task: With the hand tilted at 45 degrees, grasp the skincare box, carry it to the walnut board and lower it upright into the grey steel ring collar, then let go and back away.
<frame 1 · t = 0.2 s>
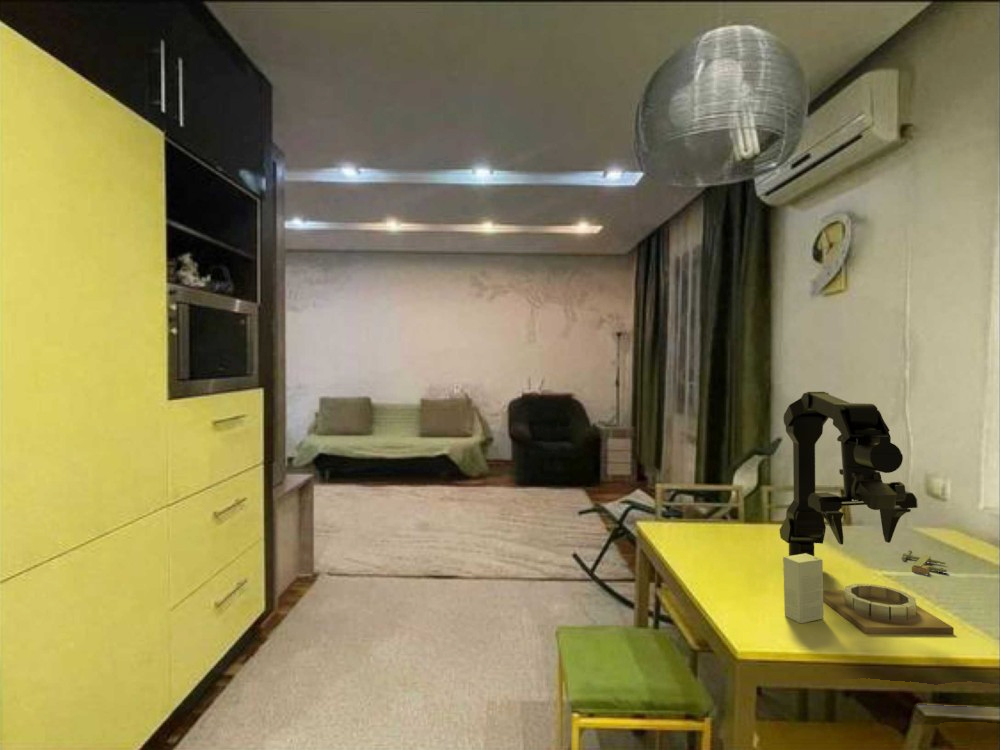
hand: (864, 543, 116), 14 cm above the table, tool pointing down, fingers open, 9 cm apart
skincare box: (803, 618, 114), on the table
clamp: (924, 568, 143), on the table
walnut fitting board: (879, 613, 116), on the table
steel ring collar: (879, 601, 116), on the walnut fitting board, point 2 cm above the table
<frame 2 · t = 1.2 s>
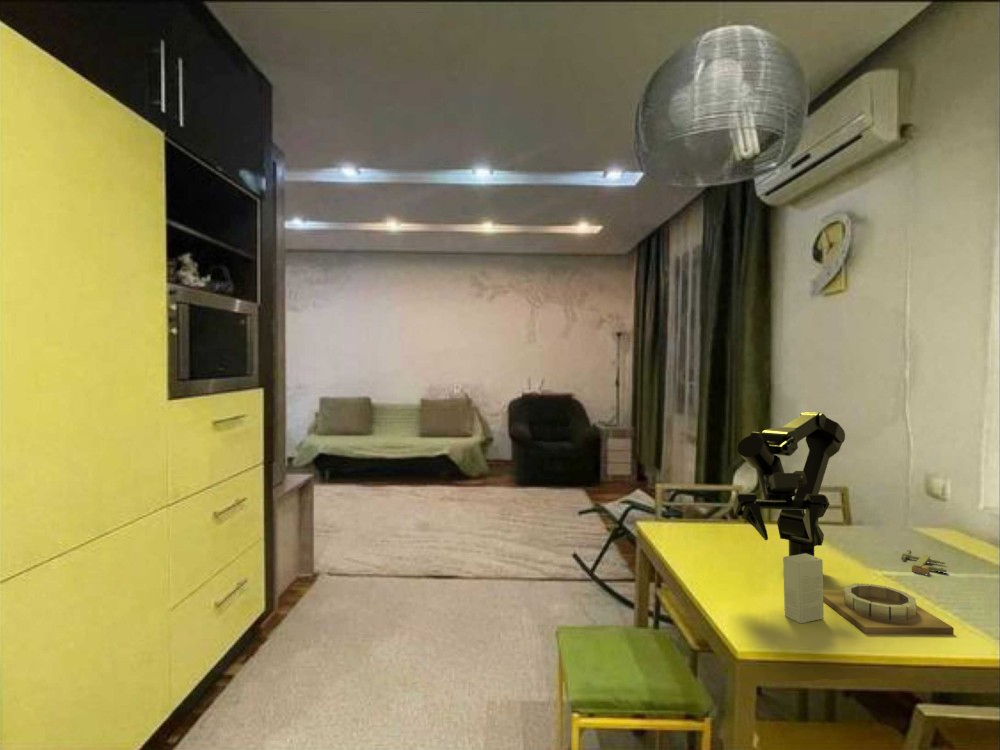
hand: (789, 540, 121), 13 cm above the table, tool tilted 45°, fingers open, 9 cm apart
nothing on the table moved.
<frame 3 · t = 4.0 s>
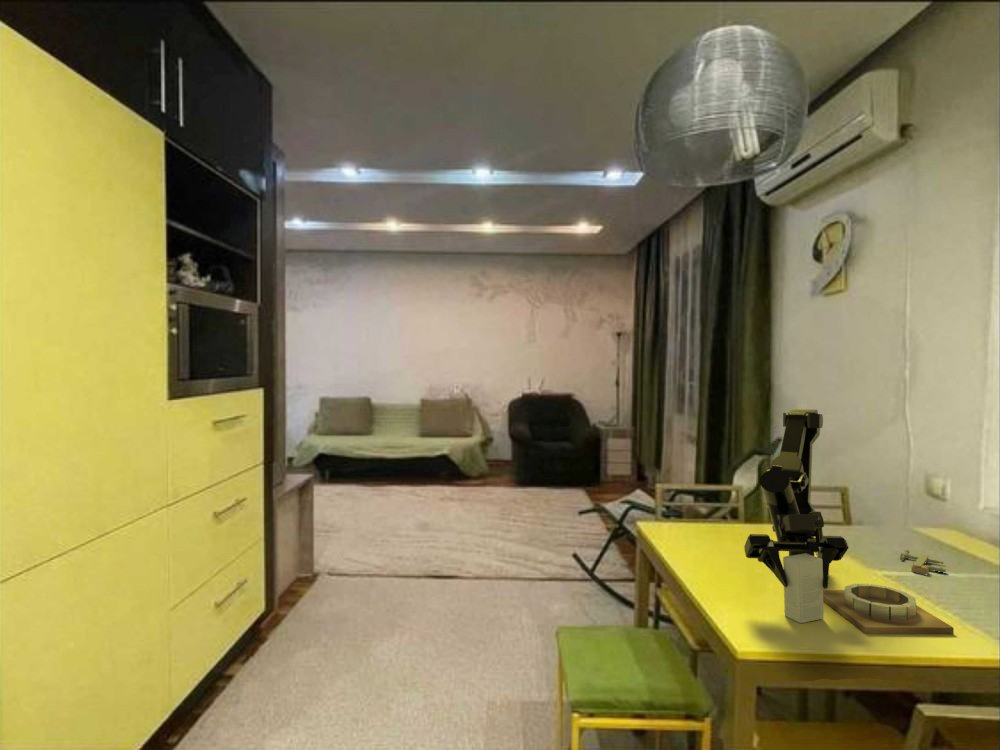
hand: (806, 587, 113), 7 cm above the table, tool tilted 45°, fingers closed on skincare box, 7 cm apart
skincare box: (803, 618, 114), on the table, touching gripper
everything else where it was.
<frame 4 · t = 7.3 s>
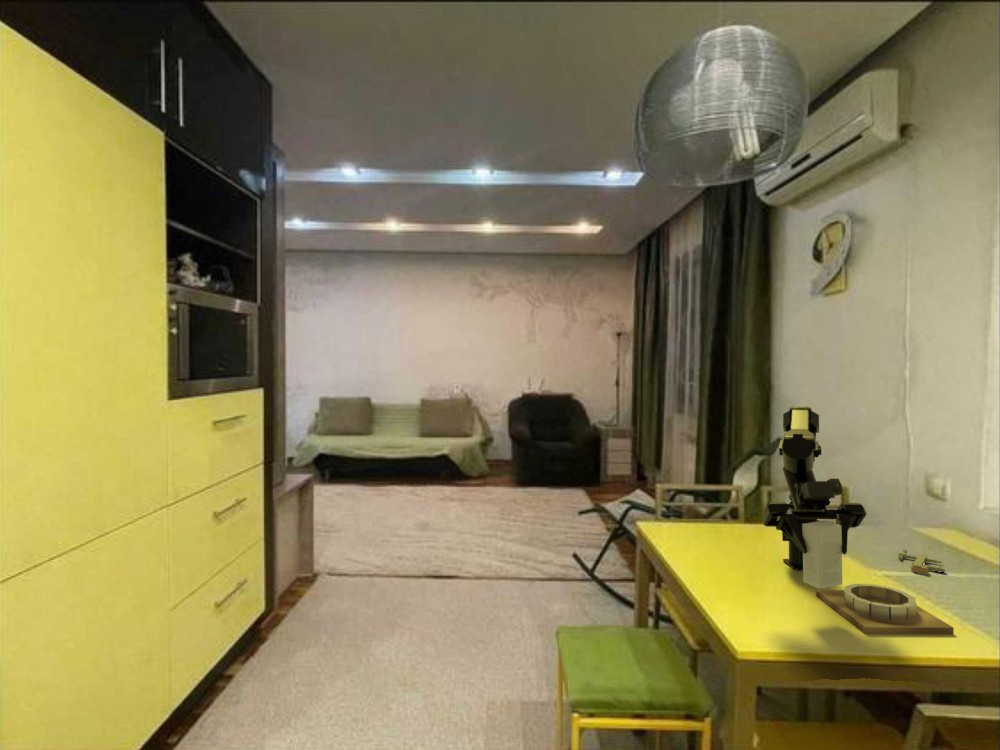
hand: (825, 553, 113), 13 cm above the table, tool tilted 45°, fingers closed on skincare box, 7 cm apart
skincare box: (822, 584, 115), point 6 cm above the table, touching gripper
everything else where it was.
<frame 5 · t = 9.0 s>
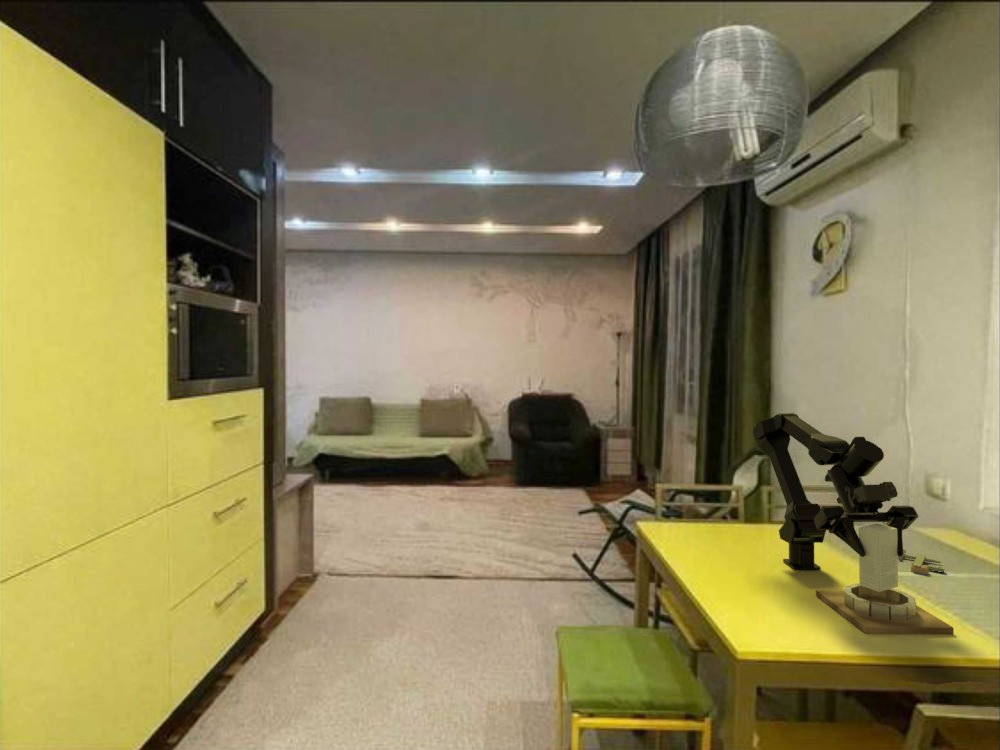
hand: (882, 555, 114), 12 cm above the table, tool tilted 45°, fingers closed on skincare box, 7 cm apart
skincare box: (878, 587, 116), point 5 cm above the table, touching gripper
everything else where it was.
when the fingers open (9 cm above the table, at t = 10.5 s): skincare box drops 1 cm, resting on walnut fitting board.
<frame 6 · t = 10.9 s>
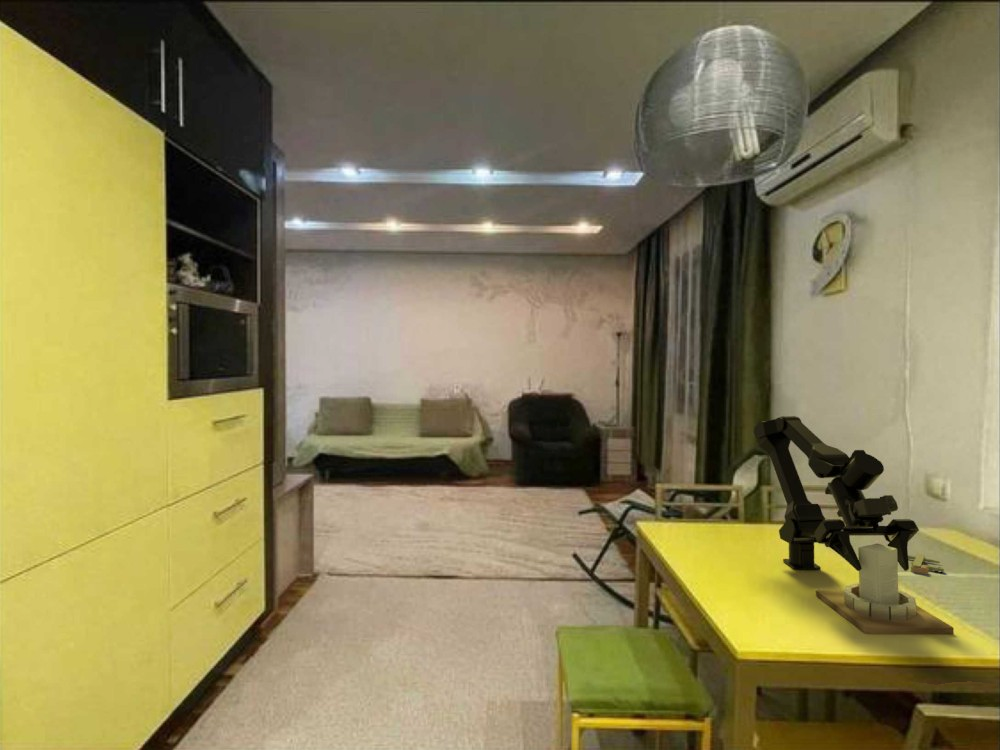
hand: (883, 570, 114), 9 cm above the table, tool tilted 45°, fingers open, 9 cm apart
skincare box: (878, 607, 116), point 1 cm above the table, touching walnut fitting board
everything else where it was.
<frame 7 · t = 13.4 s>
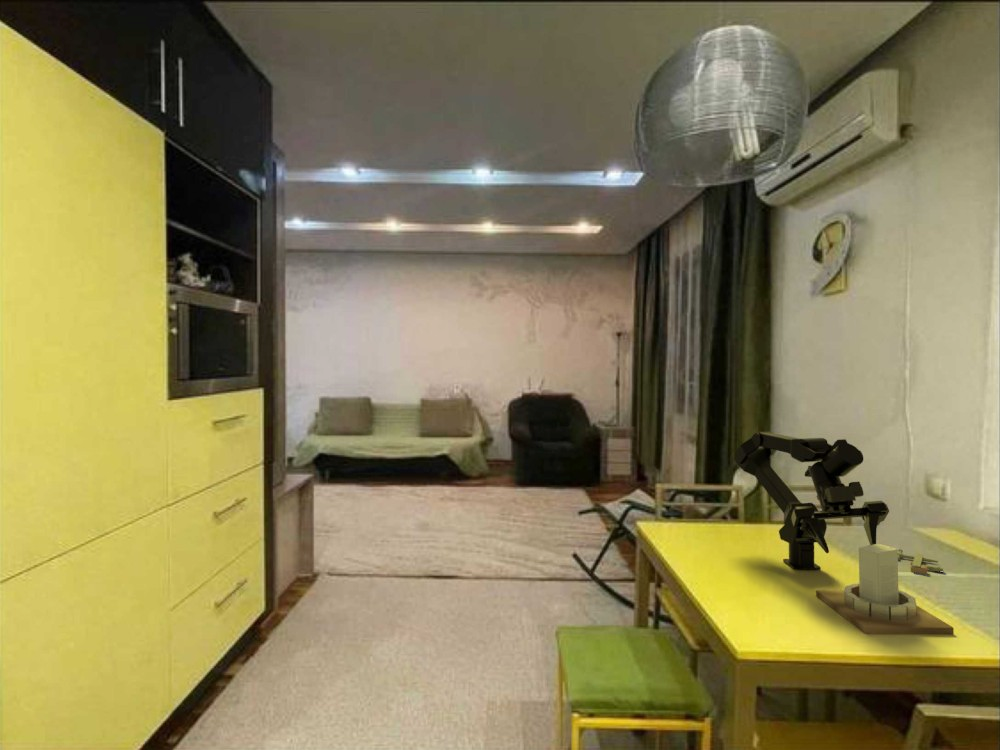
hand: (851, 551, 124), 10 cm above the table, tool tilted 40°, fingers open, 9 cm apart
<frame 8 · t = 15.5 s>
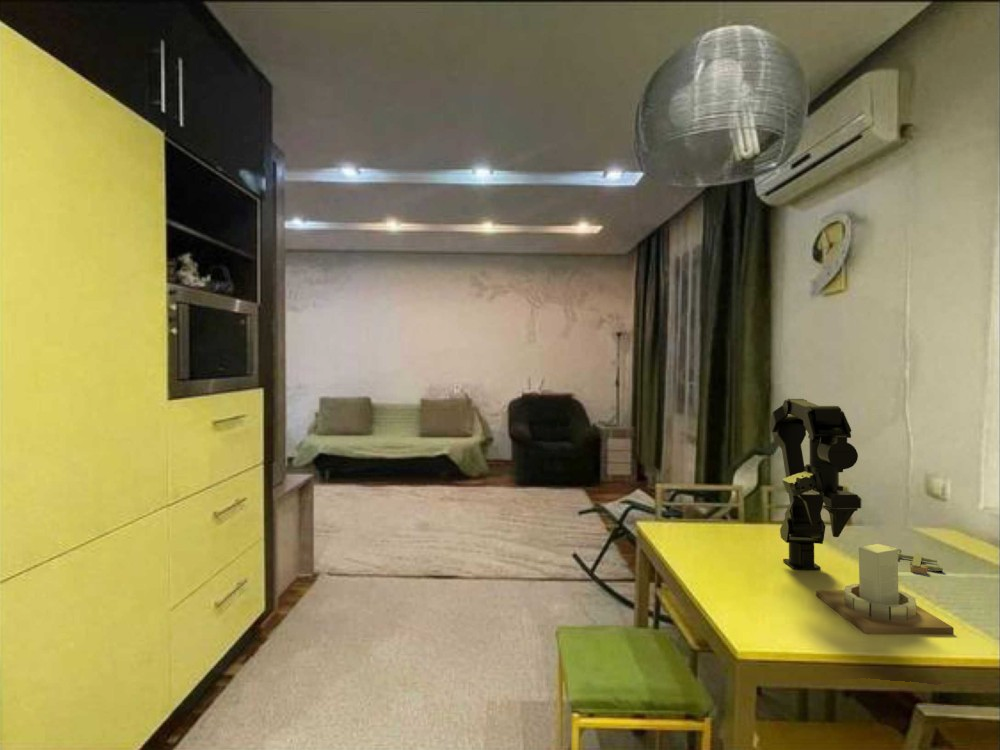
hand: (824, 530, 129), 13 cm above the table, tool pointing down, fingers open, 9 cm apart
at the end: skincare box 0.2 cm off-centre on the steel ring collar, point 1.0 cm above the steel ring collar's base; skincare box tilted 0°; the gripper is holding nothing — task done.
